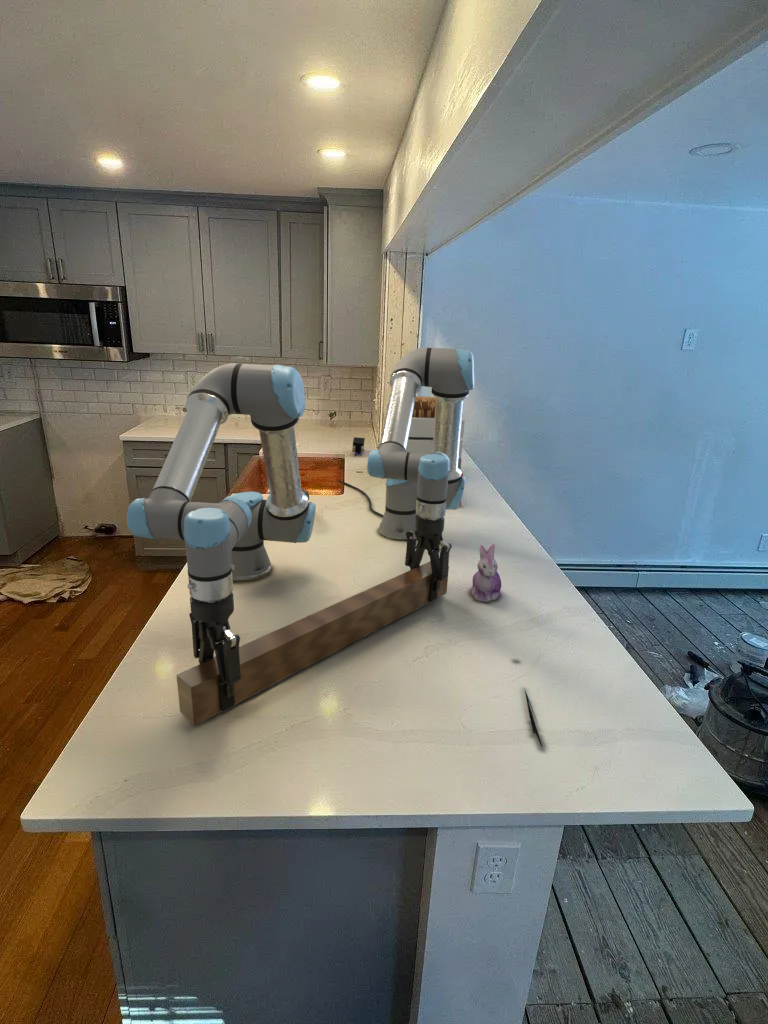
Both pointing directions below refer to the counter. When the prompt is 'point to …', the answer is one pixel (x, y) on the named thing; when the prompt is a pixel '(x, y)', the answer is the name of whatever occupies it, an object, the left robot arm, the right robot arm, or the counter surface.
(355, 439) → the figurine character
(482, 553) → the figurine
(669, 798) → the counter surface
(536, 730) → the feather
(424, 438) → the transformer
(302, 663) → the bar
